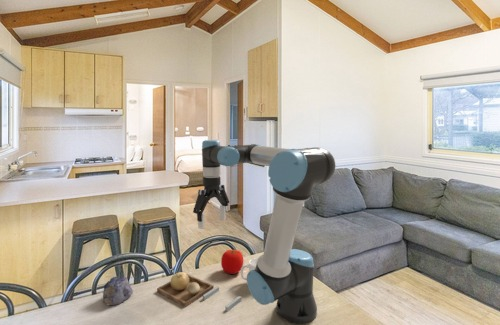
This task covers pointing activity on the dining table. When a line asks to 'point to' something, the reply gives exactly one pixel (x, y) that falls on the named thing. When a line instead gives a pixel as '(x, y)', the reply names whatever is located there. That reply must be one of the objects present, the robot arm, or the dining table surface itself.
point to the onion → (179, 281)
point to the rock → (117, 290)
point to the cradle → (226, 305)
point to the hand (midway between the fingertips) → (212, 224)
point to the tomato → (232, 261)
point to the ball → (193, 288)
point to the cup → (251, 267)
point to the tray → (185, 292)
